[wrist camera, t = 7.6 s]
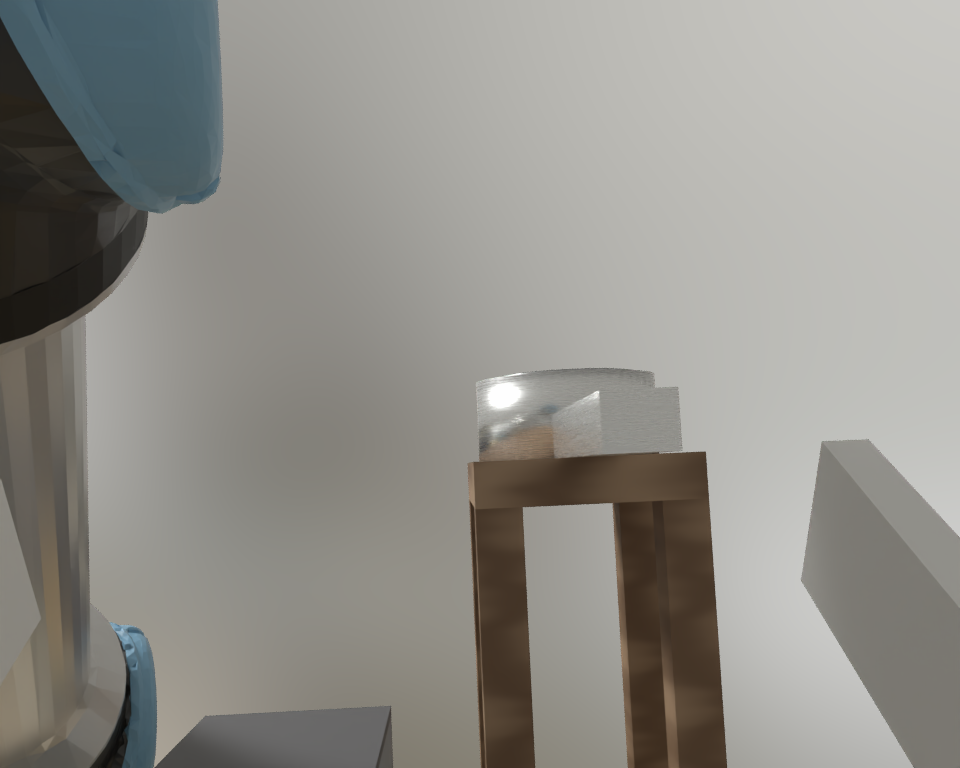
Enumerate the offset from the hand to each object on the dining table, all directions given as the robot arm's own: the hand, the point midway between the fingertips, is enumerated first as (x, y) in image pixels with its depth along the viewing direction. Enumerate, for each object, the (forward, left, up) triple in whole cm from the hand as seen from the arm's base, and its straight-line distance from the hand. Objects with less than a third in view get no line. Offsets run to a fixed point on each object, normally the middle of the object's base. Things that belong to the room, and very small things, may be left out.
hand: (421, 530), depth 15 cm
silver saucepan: (+6, +24, +1) cm, 25 cm away
